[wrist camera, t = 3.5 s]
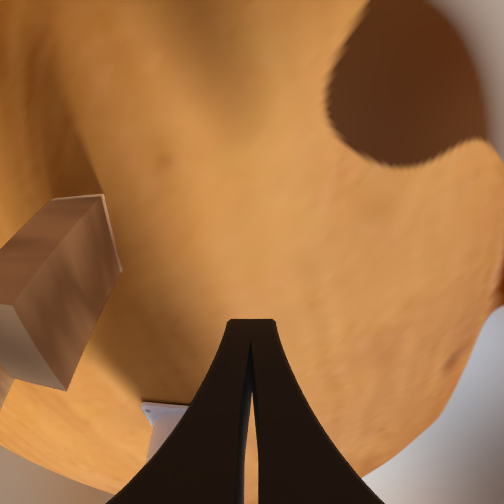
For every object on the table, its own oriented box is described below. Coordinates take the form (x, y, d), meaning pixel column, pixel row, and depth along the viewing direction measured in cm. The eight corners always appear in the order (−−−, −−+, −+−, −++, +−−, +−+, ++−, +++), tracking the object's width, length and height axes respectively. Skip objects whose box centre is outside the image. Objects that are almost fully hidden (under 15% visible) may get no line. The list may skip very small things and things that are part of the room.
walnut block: (122, 269, 17) (66, 391, 10) (75, 268, 17) (11, 377, 10) (103, 193, 14) (12, 305, 8) (52, 198, 14) (-42, 297, 8)
